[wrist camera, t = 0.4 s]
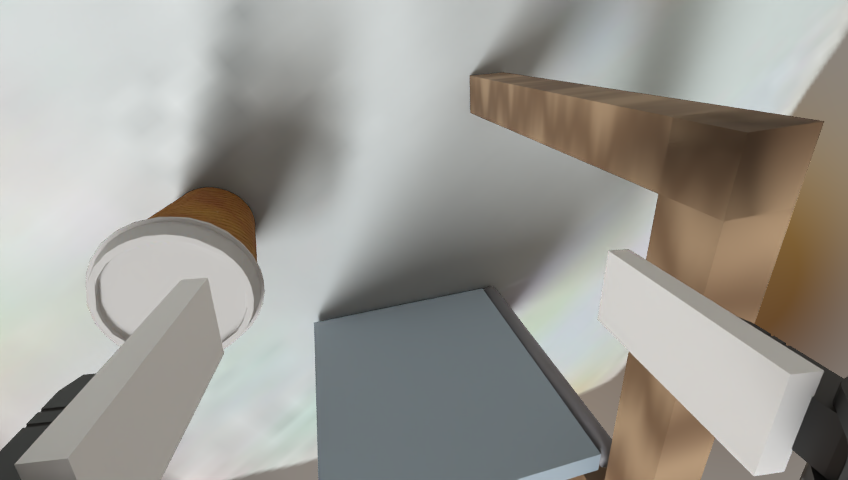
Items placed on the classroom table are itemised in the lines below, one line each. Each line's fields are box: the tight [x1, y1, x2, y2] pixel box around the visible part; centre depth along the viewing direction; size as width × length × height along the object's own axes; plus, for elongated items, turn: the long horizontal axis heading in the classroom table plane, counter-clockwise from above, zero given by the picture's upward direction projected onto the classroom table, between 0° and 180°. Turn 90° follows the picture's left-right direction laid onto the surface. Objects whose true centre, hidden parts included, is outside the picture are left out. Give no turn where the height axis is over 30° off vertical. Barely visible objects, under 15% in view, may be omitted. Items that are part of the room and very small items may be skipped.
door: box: [314, 286, 612, 480], centre depth 34 cm, size 19×4×20 cm, turn 94°
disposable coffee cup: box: [86, 187, 265, 349], centre depth 29 cm, size 10×10×12 cm
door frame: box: [470, 72, 824, 480], centre depth 30 cm, size 26×3×25 cm, turn 4°
